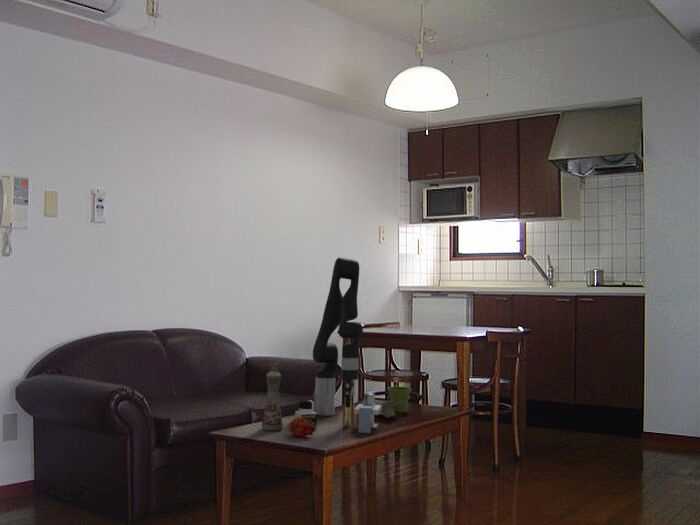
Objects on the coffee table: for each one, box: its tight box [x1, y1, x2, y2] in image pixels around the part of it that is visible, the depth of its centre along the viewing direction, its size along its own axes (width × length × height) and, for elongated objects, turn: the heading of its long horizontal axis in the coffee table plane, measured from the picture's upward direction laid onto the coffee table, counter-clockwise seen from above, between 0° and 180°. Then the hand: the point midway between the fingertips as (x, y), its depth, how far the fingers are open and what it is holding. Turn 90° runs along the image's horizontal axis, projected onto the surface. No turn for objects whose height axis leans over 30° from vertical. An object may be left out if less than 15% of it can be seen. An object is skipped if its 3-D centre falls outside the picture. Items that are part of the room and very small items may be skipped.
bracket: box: [358, 403, 374, 434], centre depth 340 cm, size 5×12×10 cm, turn 172°
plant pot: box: [386, 386, 412, 414], centre depth 392 cm, size 12×12×11 cm
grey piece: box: [353, 392, 382, 429], centre depth 345 cm, size 10×14×14 cm
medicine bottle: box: [294, 399, 318, 431], centre depth 339 cm, size 7×7×12 cm
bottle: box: [261, 361, 284, 432], centre depth 336 cm, size 9×9×28 cm
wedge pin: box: [344, 397, 352, 428], centre depth 348 cm, size 3×3×13 cm
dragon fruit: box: [287, 417, 316, 439], centre depth 321 cm, size 8×8×12 cm
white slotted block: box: [379, 399, 404, 419], centre depth 373 cm, size 16×9×15 cm
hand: (349, 406), depth 348 cm, fingers open, 8 cm apart
